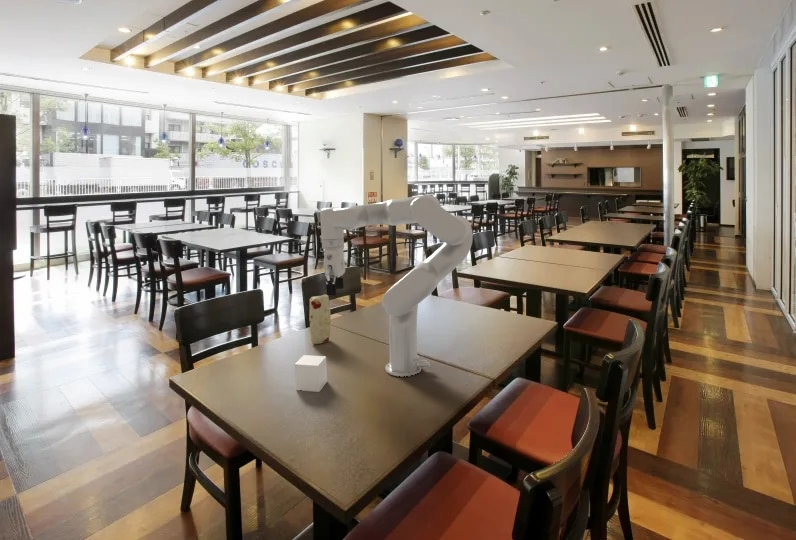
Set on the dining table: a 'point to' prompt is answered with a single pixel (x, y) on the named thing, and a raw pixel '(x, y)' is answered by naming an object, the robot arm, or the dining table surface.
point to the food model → (319, 319)
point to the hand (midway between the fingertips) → (335, 291)
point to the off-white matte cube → (311, 373)
